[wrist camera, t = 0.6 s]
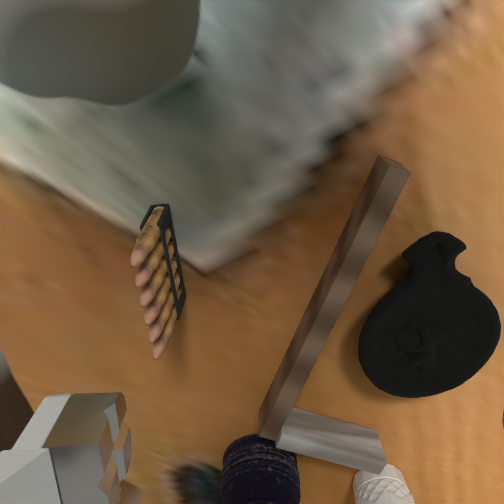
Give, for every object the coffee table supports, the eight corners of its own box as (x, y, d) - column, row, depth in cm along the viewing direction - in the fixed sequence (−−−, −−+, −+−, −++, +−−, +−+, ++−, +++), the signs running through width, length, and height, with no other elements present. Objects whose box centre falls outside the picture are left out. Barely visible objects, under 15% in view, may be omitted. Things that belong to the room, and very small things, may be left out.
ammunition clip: (186, 296, 50) (168, 367, 39) (169, 298, 50) (146, 369, 39) (168, 203, 46) (142, 253, 35) (150, 205, 46) (118, 256, 35)
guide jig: (378, 154, 44) (393, 168, 39) (516, 205, 46) (545, 223, 41) (258, 411, 57) (259, 443, 52) (369, 441, 59) (379, 474, 54)
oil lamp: (502, 214, 46) (530, 233, 42) (474, 370, 54) (494, 400, 50) (353, 221, 47) (364, 241, 42) (347, 375, 55) (355, 406, 50)
